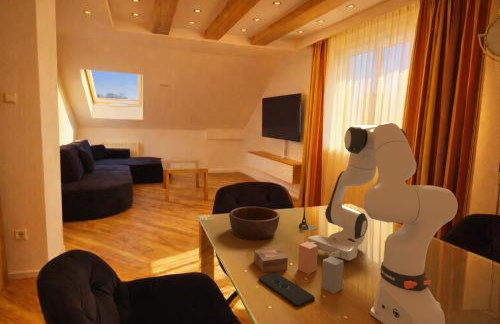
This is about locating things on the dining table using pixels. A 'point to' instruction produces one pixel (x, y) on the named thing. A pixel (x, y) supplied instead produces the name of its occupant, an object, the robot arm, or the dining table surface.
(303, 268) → the terracotta block
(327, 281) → the grey block
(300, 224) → the eiffel tower figurine
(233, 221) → the wooden bowl
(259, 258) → the walnut base block
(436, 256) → the dining table surface
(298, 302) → the smart home device
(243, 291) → the dining table surface
